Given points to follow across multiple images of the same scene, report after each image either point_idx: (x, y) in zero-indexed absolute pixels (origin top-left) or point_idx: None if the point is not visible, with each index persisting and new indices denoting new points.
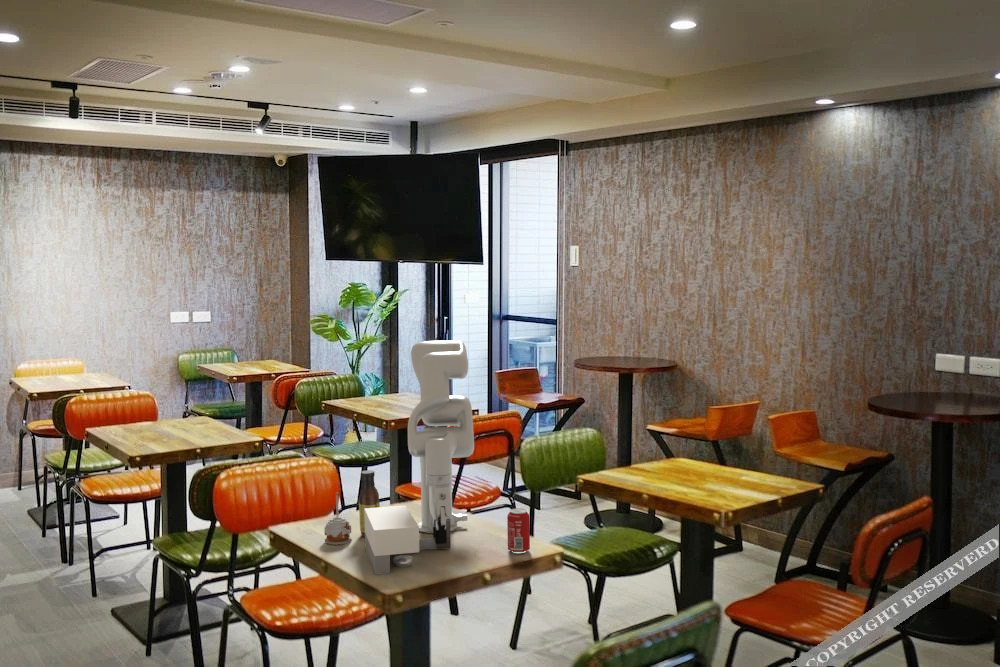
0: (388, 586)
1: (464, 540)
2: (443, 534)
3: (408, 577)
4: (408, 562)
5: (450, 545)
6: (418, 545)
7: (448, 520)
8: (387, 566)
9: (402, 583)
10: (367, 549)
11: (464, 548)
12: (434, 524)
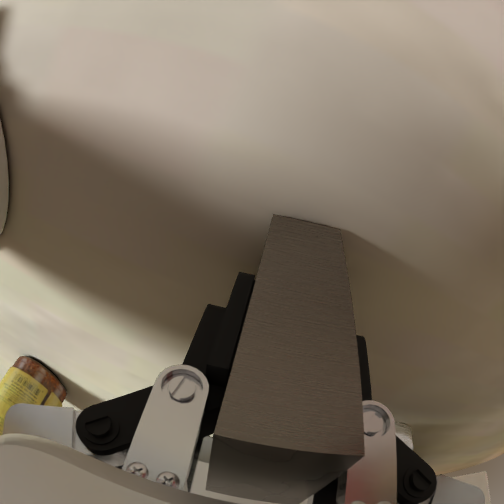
0: (479, 458)
1: (162, 36)
2: (366, 382)
3: (483, 435)
4: (412, 440)
5: (340, 239)
6: (487, 493)
7: (319, 461)
8: None
9: (494, 443)
10: None
11: (378, 119)
12: (202, 441)
